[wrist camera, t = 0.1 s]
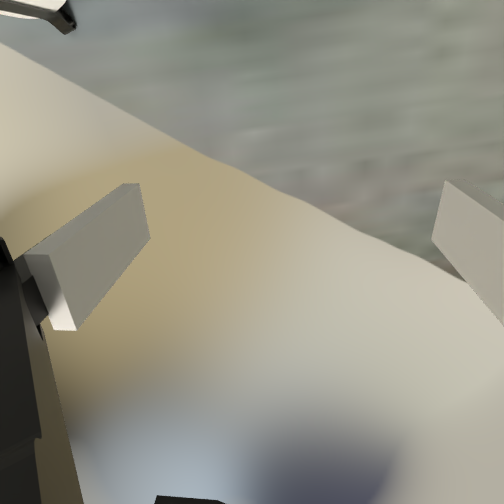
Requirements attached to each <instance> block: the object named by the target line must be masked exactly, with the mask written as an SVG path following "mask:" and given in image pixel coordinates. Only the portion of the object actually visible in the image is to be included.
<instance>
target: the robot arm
mask: <svg viewBox="0 0 504 504" xmlns="http://www.w3.org/2000/svg"><path fill="white" fill-rule="evenodd" d="M149 239H150V234H149V229H148V225H147V220H146V215H145V210H144V205H143V200H142V195H141V190H140V185H139V183H138V184H122V185H120V186H119V187H118V188H116V189H115V190H113V191H112V192H110V193H109V194H108V195H106V196H105V197H103V198H102V199H101V200H99V201H98V202H96V203H95V204H94V205H92V206H91V207H89V208H88V209H87V210H85V211H84V212H82V213H81V214H80V215H78V216H77V217H75V218H74V219H73V220H71V221H70V222H68V223H67V224H65V225H64V226H63V227H61V228H60V229H58V230H57V231H55V232H54V233H53V234H51V235H49V236H48V237H46V238H45V239H44V240H42V241H41V242H40V243H38V244H36V245H35V246H34V247H33V248H31V249H30V250H28V251H27V252H25V253H24V254H22V255H21V256H20V257H18V258H17V259H15V260H14V261H13V259H12V257H11V255H10V253H9V250H8V248H7V245H6V243H5V241H4V239H3V238H2V237H0V504H84V503H83V498H82V494H81V489H80V485H79V481H78V476H77V472H76V468H75V464H74V459H73V455H72V451H71V446H70V442H69V438H68V434H67V430H66V425H65V421H64V416H63V412H62V408H61V403H60V399H59V395H58V391H57V387H56V382H55V378H54V374H53V369H52V365H51V361H50V356H49V352H48V348H47V344H46V339H45V335H44V332H43V329H42V327H41V324H40V323H41V321H42V320H43V319H44V318H45V317H46V316H47V315H48V316H49V318H50V321H51V323H52V326H53V328H54V330H78V328H79V327H80V326H81V325H82V323H83V322H84V321H85V320H86V318H87V317H88V316H89V315H90V313H91V312H92V311H93V309H94V308H95V307H96V306H97V305H98V303H99V302H100V301H101V299H102V298H103V297H104V296H105V294H106V293H107V292H108V291H109V290H110V288H111V287H112V286H113V285H114V283H115V282H116V281H117V280H118V278H119V277H120V276H121V275H122V273H123V272H124V271H125V270H126V268H127V267H128V265H130V263H131V262H132V261H133V260H134V258H135V257H136V256H137V255H138V253H139V252H140V251H141V249H142V248H143V247H144V246H145V244H146V243H147V242H148V241H149ZM431 240H432V241H433V242H434V244H435V245H436V246H437V247H438V248H439V250H440V251H441V252H442V253H443V254H444V256H445V257H446V258H447V259H448V260H449V262H450V263H451V264H452V265H453V266H454V267H455V269H456V270H457V271H458V272H459V273H460V275H461V276H462V277H463V278H464V279H465V281H466V282H467V283H468V284H469V285H470V287H471V288H472V289H473V290H474V291H475V292H476V294H477V295H478V296H479V297H480V298H481V300H482V301H483V302H484V303H485V304H486V306H487V307H488V308H489V309H490V310H491V312H492V313H493V314H494V315H495V316H496V318H497V319H498V320H499V321H500V322H501V323H502V325H503V326H504V204H503V203H501V202H500V201H498V200H497V199H495V198H493V197H492V196H490V195H489V194H487V193H485V192H484V191H482V190H481V189H479V188H478V187H476V186H474V185H473V184H471V183H470V182H468V181H466V180H445V183H444V188H443V192H442V196H441V200H440V205H439V209H438V213H437V217H436V222H435V226H434V230H433V234H432V239H431ZM154 504H225V503H223V502H220V501H218V500H208V499H196V498H195V499H194V498H183V497H171V496H159V495H157V497H156V500H155V503H154Z"/></svg>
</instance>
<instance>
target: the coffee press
mask: <svg viewBox="0 0 504 504" xmlns="http://www.w3.org/2000/svg"><path fill="white" fill-rule="evenodd" d="M65 2H66V0H0V14H2V15H7V16H13V17H19V18H26V19H38V18H40V19H44V20H47V21H48V22H50V23H51V24H52V25H53V26H55V27H56V28H57V29H58V30H59V31H60V32H61V33H63V34H64V35H66V34H68V33H70V32H72V31H74V30H75V29H76V24H75V22H74V20H73V19H72V18H71V16H70V15H69V14H68V13H67V12H66V11H65V10H64V8H63V7H62V5H63V4H64V3H65Z"/></svg>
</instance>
